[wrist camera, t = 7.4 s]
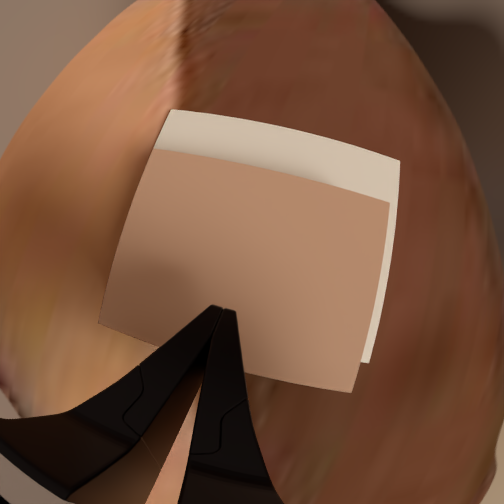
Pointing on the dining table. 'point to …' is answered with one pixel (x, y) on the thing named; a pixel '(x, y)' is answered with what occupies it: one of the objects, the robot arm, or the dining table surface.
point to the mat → (293, 166)
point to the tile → (251, 264)
